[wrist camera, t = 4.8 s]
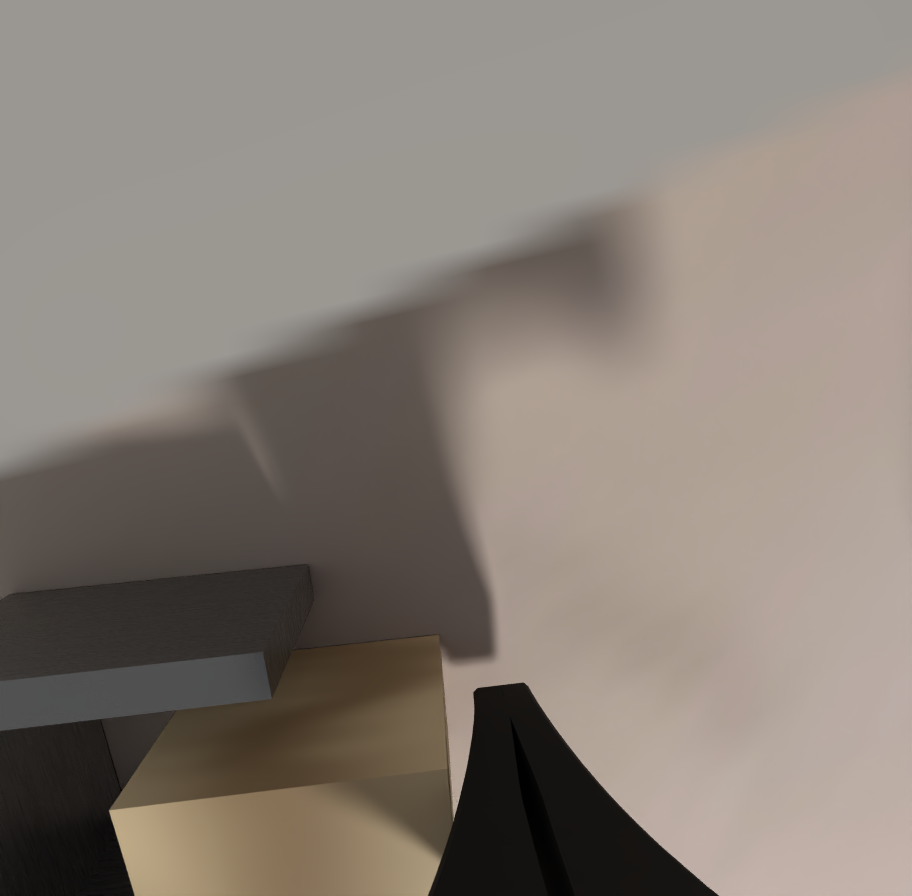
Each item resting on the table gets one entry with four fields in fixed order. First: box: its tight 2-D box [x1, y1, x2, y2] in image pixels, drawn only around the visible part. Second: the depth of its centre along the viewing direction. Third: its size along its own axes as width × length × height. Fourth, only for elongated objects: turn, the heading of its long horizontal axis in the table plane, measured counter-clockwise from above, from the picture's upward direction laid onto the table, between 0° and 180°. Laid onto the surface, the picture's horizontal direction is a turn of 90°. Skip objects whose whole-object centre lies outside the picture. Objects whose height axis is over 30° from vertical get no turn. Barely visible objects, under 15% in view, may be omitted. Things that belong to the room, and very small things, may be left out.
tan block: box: [109, 635, 454, 896], centre depth 11 cm, size 6×3×4 cm, turn 94°
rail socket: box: [0, 564, 314, 896], centre depth 11 cm, size 7×10×3 cm
